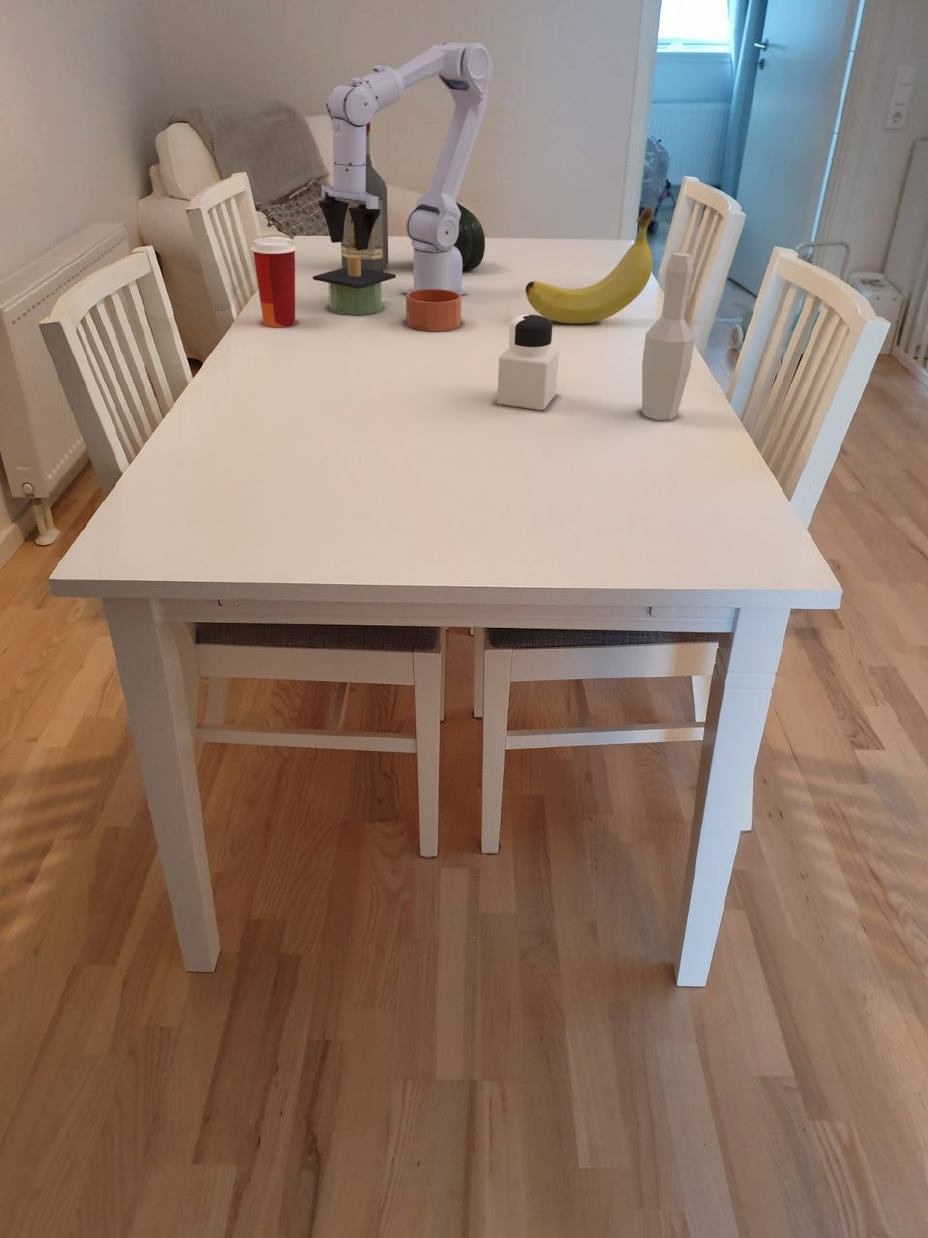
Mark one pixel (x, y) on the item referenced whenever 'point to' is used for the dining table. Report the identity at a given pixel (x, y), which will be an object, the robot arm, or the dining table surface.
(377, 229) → the liquor
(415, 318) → the terracotta cup
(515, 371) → the medicine bottle
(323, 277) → the dark square pegged slab
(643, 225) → the banana
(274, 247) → the paper cup
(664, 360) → the faceted bottle
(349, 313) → the sage cup
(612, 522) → the dining table surface
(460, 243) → the squash
